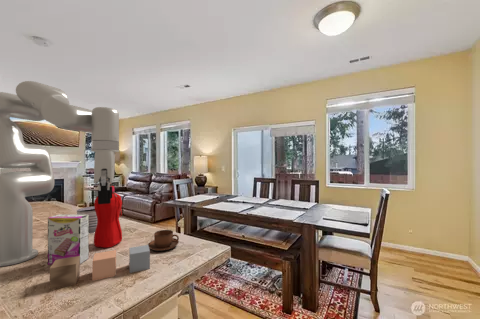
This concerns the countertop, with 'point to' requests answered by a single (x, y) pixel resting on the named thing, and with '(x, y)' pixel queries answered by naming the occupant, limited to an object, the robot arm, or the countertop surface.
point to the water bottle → (108, 222)
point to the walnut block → (64, 272)
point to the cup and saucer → (163, 240)
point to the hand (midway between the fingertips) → (105, 201)
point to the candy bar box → (68, 237)
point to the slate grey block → (139, 258)
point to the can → (92, 217)
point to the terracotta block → (104, 265)
